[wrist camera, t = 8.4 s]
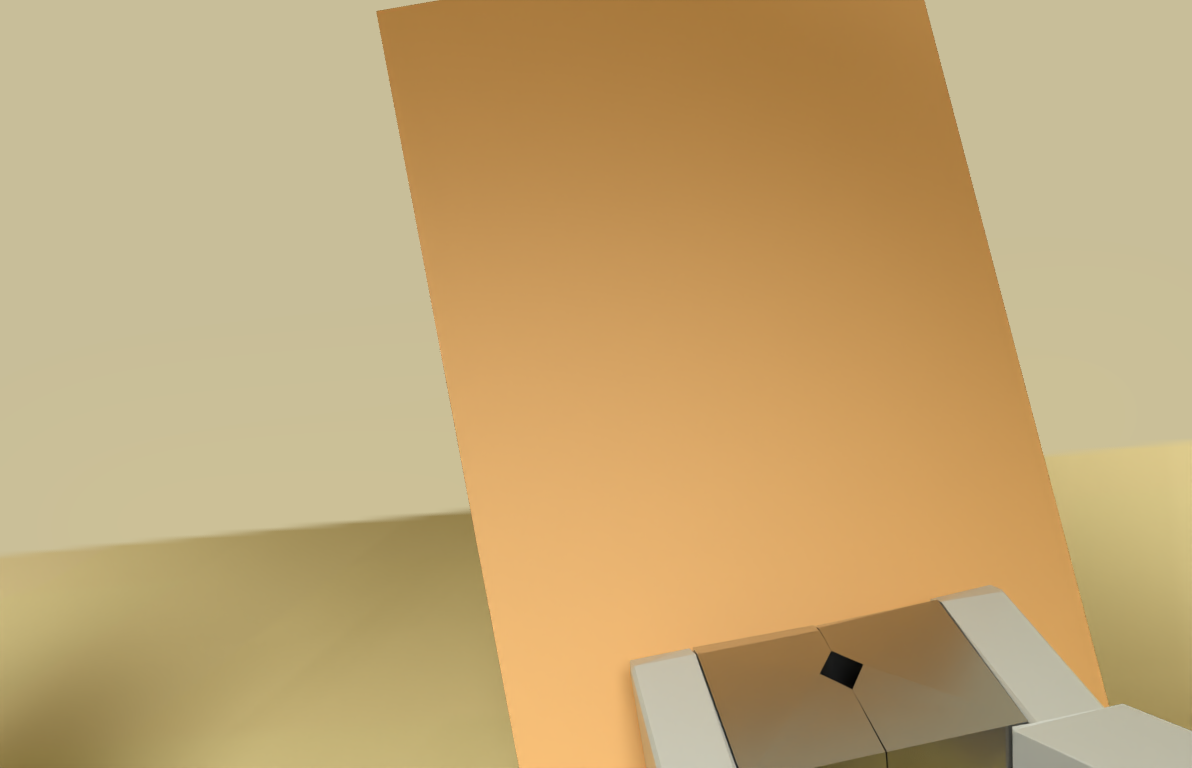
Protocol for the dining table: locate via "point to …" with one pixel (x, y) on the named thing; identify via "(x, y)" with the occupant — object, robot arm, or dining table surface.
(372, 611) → the dining table surface
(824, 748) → the robot arm
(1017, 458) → the orange paddle lever
